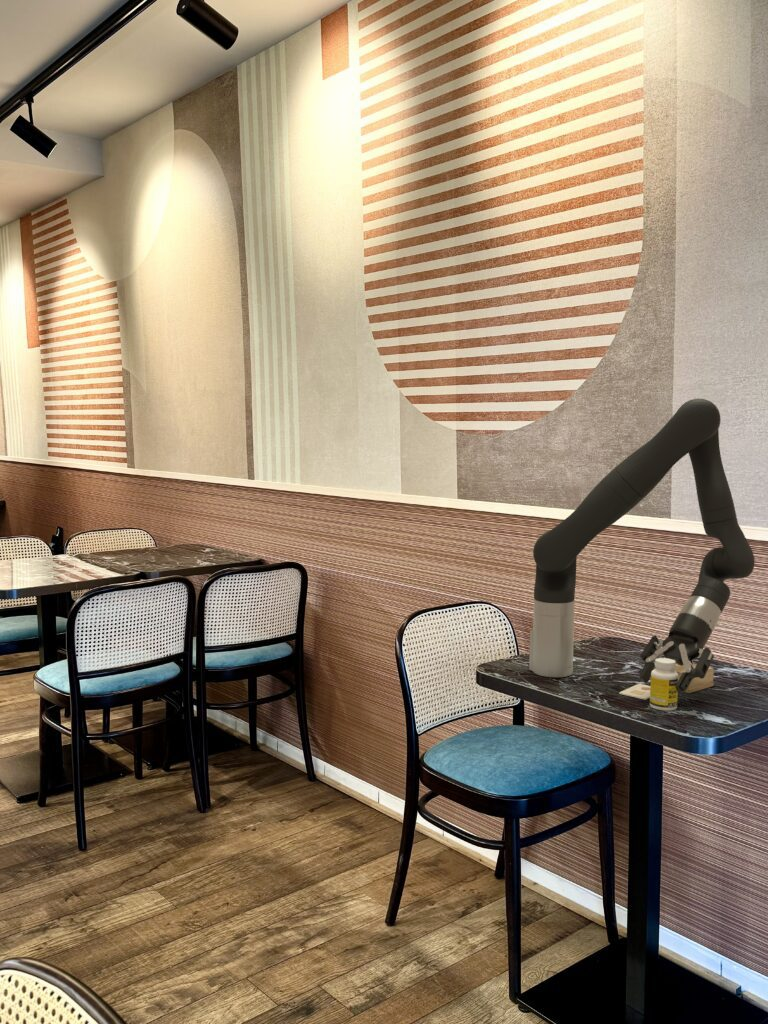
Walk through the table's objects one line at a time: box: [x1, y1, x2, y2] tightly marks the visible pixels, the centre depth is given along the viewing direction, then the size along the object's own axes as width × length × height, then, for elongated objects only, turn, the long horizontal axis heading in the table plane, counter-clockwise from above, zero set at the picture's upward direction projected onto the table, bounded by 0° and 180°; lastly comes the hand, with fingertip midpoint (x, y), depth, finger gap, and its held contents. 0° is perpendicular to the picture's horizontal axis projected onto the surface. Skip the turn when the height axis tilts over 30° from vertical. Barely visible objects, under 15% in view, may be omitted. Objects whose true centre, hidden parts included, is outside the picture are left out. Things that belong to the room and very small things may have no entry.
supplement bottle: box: [649, 657, 679, 712], centre depth 183 cm, size 5×5×10 cm
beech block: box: [654, 662, 715, 694], centre depth 200 cm, size 9×9×4 cm
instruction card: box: [619, 683, 650, 701], centre depth 194 cm, size 6×9×1 cm, turn 137°
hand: (660, 685), depth 183 cm, fingers open, 8 cm apart
